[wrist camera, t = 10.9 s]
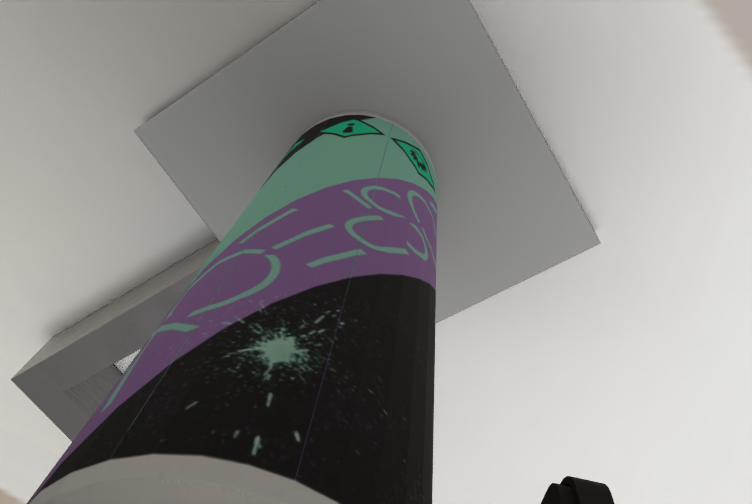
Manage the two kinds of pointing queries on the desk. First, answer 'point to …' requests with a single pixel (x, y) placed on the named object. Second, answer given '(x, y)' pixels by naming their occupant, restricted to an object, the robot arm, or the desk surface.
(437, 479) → the desk surface
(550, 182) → the mat
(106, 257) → the desk surface
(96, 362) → the grey square frame
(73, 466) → the spray can
